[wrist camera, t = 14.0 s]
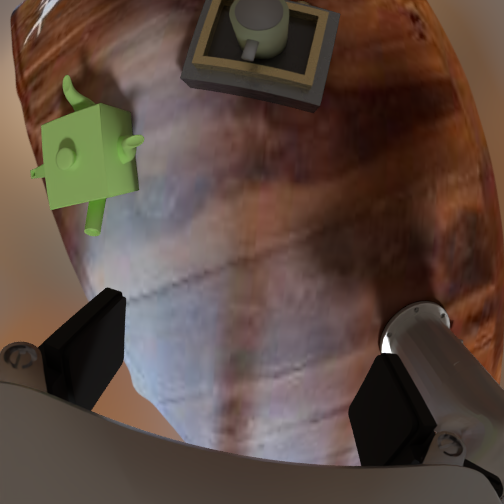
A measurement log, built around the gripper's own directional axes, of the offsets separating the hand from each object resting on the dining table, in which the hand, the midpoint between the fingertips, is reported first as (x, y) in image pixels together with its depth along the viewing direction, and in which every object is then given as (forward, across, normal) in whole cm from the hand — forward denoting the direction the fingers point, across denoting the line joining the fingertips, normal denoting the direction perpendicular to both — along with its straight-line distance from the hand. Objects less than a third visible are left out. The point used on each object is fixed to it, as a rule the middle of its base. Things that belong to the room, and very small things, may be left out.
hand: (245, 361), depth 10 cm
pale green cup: (+25, +5, -21) cm, 33 cm away
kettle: (+31, +22, -4) cm, 38 cm away
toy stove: (+30, +5, -21) cm, 37 cm away
